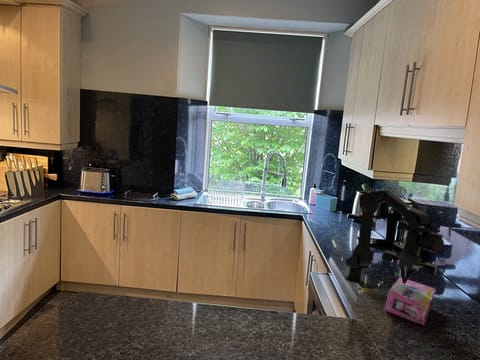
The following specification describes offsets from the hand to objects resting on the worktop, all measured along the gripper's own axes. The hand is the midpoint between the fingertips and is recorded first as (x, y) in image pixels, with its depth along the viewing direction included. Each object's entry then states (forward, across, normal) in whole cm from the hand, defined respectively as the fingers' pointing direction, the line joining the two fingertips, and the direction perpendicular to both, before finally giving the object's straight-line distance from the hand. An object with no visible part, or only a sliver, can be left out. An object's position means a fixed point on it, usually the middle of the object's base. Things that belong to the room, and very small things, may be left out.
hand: (404, 283), depth 140 cm
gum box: (+5, -4, 0) cm, 6 cm away
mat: (+10, +3, -2) cm, 10 cm away
